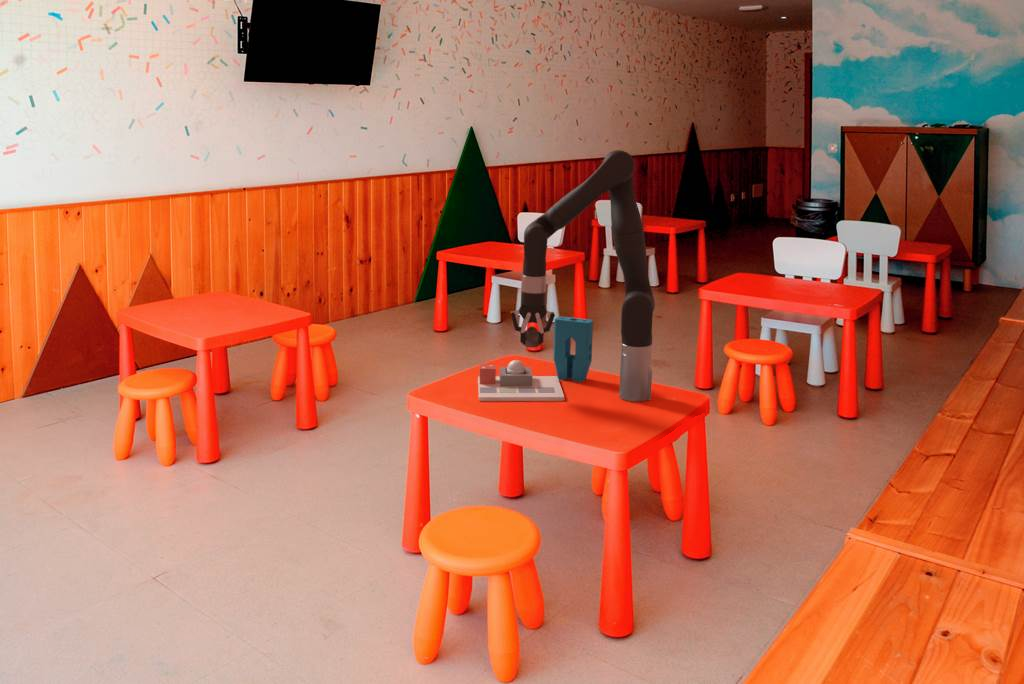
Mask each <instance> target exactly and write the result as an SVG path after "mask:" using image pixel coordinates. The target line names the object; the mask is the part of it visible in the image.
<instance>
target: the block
mask: <svg viewBox="0 0 1024 684" xmlns="http://www.w3.org/2000/svg"><path fill="white" fill-rule="evenodd" d="M553 325H554V328H553V329H554V331H553V332H554V333H553V335H554V336H553V363H554V367H555V370H556V371H555V372H556V376H557V377H558V380H559V381H567V380H568V379H571V380H572V382H574V383H575V382H577V383H583V382H584V381H586V379H587V377H588V374H589V371H590V367H591V363H592V362H593V361H592V360H593V359H592V357H593V355H592V354H593V336H594V335H593V329H594V320H593V319H588V318H577V317H570V316H569V317H568V316H557V317H556V318H555V317H554V324H553ZM572 340H573V341H574V343H575V344H574V345H575V346H574V347H575V350H574V352H575V354H572V353H571V347H572V345H571V343H572V342H571V341H572Z"/></svg>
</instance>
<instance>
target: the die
mask: <svg viewBox="0 0 1024 684" xmlns="http://www.w3.org/2000/svg"><path fill="white" fill-rule="evenodd" d="M496 369H497V368H496V365H495V364H479V376H480V384H496V373H497V372H496V371H497V370H496Z"/></svg>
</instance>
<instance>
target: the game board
mask: <svg viewBox="0 0 1024 684" xmlns="http://www.w3.org/2000/svg"><path fill="white" fill-rule="evenodd" d="M477 387H478V389H477V390H478V391H477V392H478V401H479V402H532V401H533V402H546V401H547V402H549V401H550V402H560V401H561V402H562V401H565V395H564V392H563V390H562V386H561V384H560V379H558V376H557V375H554V376H553V375H543V376H542V375H540V376H539V375H538V376H537V375H532V386H500V378H499V375H497V376H496V384H480V375H479V376H477Z"/></svg>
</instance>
